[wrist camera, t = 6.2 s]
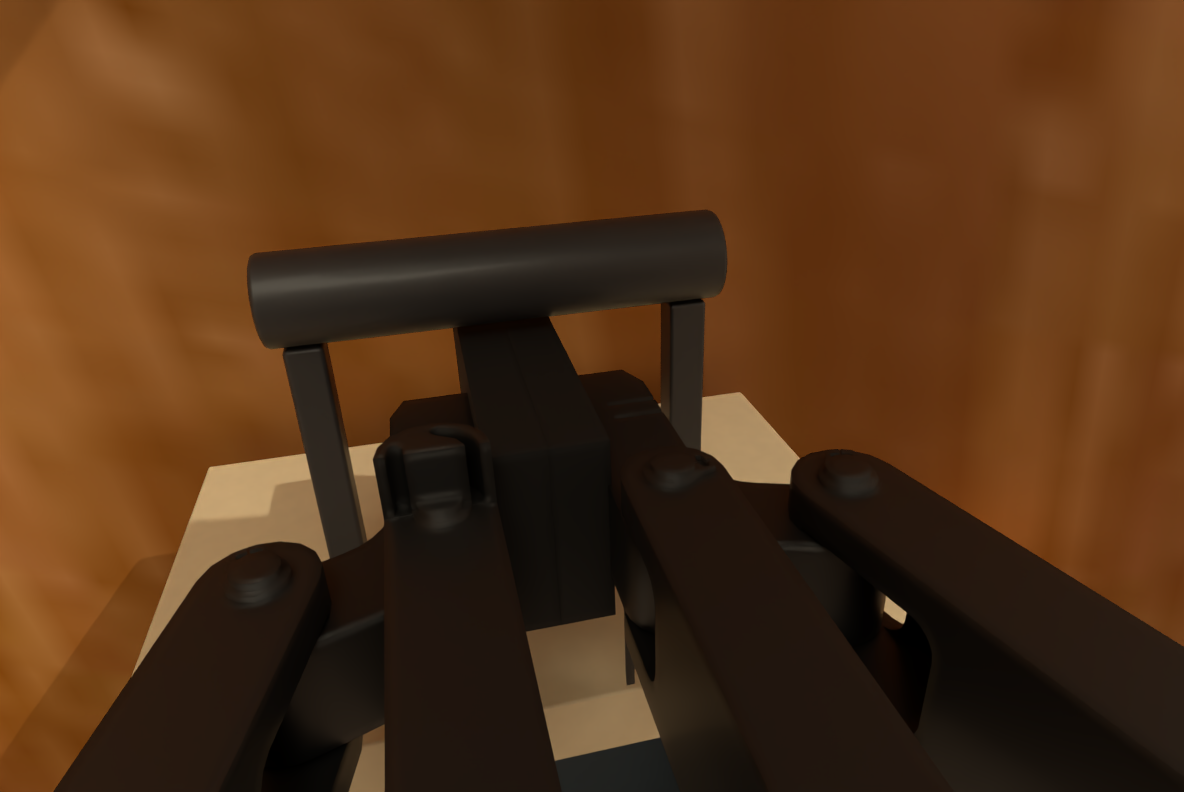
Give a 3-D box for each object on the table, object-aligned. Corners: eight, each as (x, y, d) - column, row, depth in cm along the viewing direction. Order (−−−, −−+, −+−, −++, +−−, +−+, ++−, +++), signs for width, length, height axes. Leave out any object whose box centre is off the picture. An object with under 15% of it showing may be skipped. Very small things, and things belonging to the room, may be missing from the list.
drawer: (126, 191, 16) (-126, 383, 8) (753, 140, 18) (1029, 250, 10) (338, 901, 26) (318, 1284, 18) (718, 809, 28) (843, 1113, 21)
